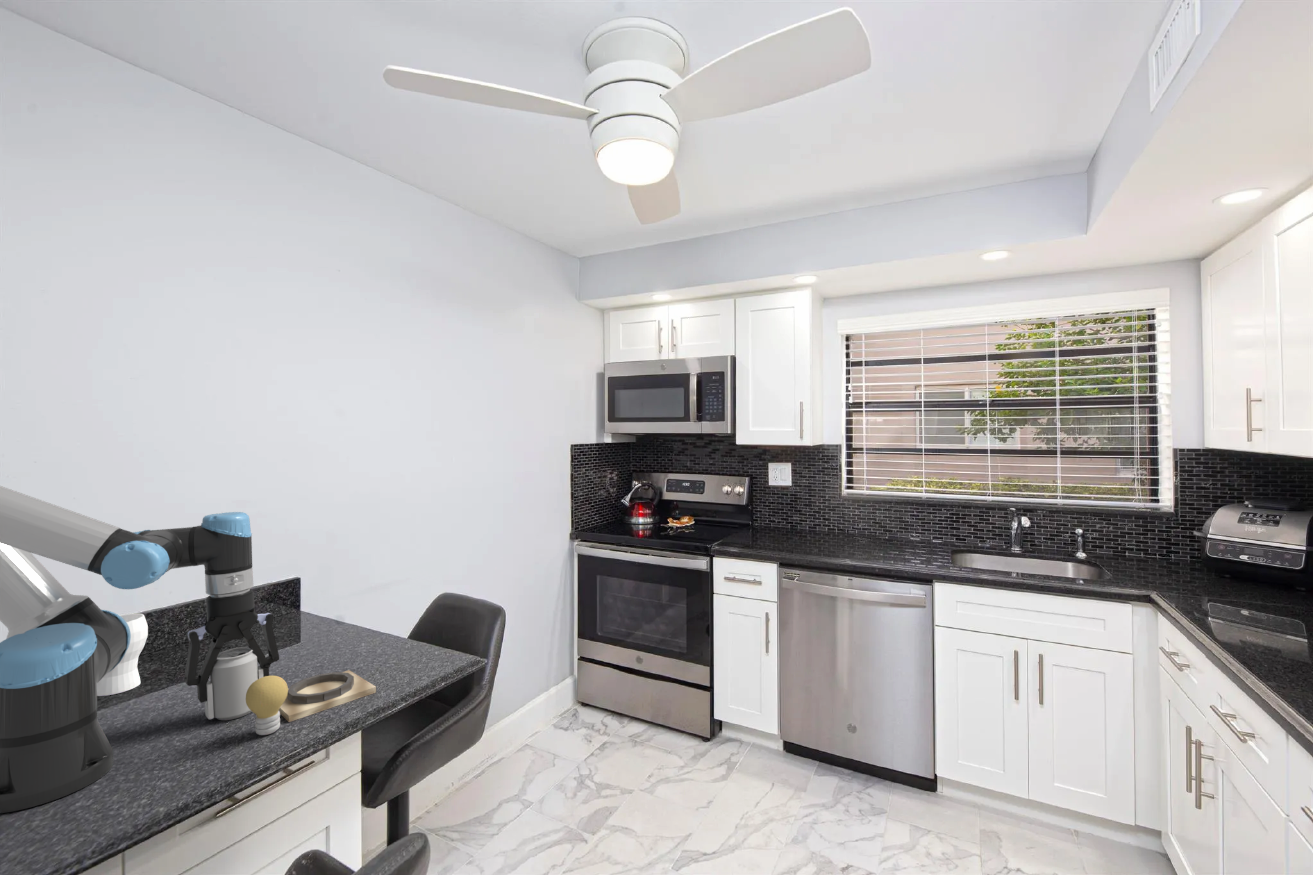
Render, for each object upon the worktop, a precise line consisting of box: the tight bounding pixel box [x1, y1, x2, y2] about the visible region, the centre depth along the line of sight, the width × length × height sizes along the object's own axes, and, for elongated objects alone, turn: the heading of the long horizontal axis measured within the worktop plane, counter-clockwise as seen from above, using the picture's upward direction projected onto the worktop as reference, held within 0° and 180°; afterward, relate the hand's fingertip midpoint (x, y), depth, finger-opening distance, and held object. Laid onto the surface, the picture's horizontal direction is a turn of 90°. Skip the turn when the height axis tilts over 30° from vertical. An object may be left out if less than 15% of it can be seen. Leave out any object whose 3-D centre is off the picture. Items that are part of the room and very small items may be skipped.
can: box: [209, 646, 259, 721], centre depth 113 cm, size 8×8×12 cm
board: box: [278, 669, 377, 723], centre depth 119 cm, size 16×14×3 cm
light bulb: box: [246, 675, 289, 736], centre depth 105 cm, size 6×6×10 cm
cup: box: [97, 612, 149, 697], centre depth 126 cm, size 11×11×15 cm
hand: (235, 708), depth 113 cm, fingers open, 7 cm apart
